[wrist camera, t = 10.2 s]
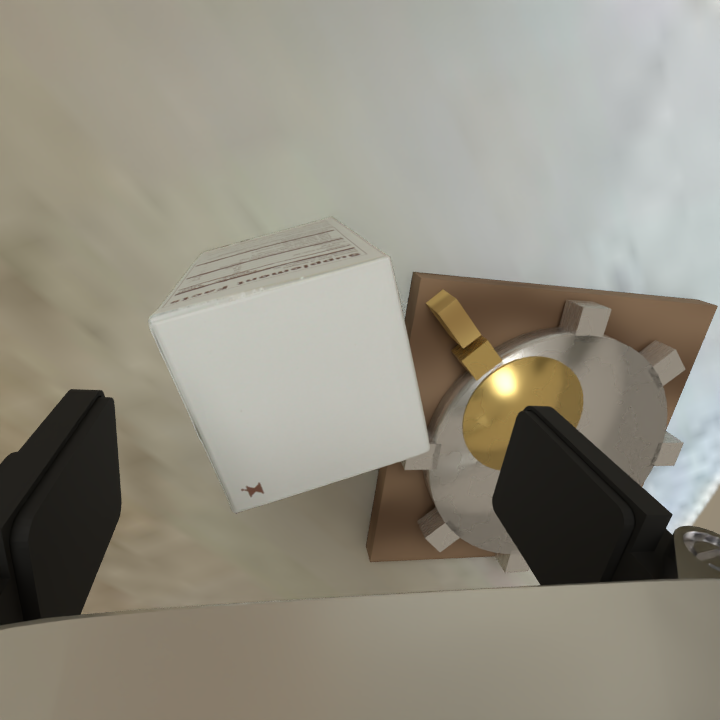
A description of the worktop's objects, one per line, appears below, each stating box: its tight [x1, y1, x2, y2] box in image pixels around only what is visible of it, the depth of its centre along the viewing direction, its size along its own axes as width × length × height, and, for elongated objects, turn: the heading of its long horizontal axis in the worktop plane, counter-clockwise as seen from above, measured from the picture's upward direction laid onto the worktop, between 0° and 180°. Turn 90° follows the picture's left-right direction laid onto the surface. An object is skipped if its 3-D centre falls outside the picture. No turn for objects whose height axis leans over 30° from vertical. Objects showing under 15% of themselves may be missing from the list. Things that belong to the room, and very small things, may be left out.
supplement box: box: [148, 217, 430, 514], centre depth 20 cm, size 7×7×13 cm
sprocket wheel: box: [401, 300, 685, 573], centre depth 28 cm, size 19×19×6 cm
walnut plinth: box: [366, 272, 718, 562], centre depth 31 cm, size 20×20×4 cm
